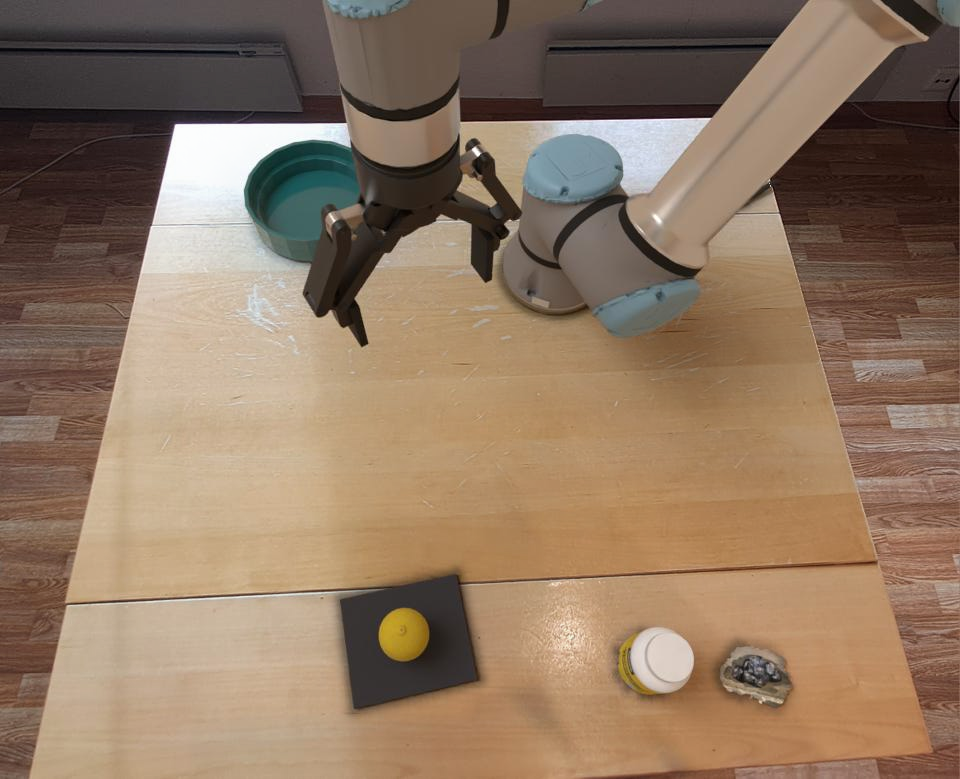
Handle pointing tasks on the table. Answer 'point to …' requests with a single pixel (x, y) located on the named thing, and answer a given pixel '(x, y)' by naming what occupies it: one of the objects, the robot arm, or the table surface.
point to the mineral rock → (756, 675)
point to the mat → (429, 671)
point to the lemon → (403, 634)
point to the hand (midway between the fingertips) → (421, 302)
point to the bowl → (299, 194)
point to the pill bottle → (655, 661)
